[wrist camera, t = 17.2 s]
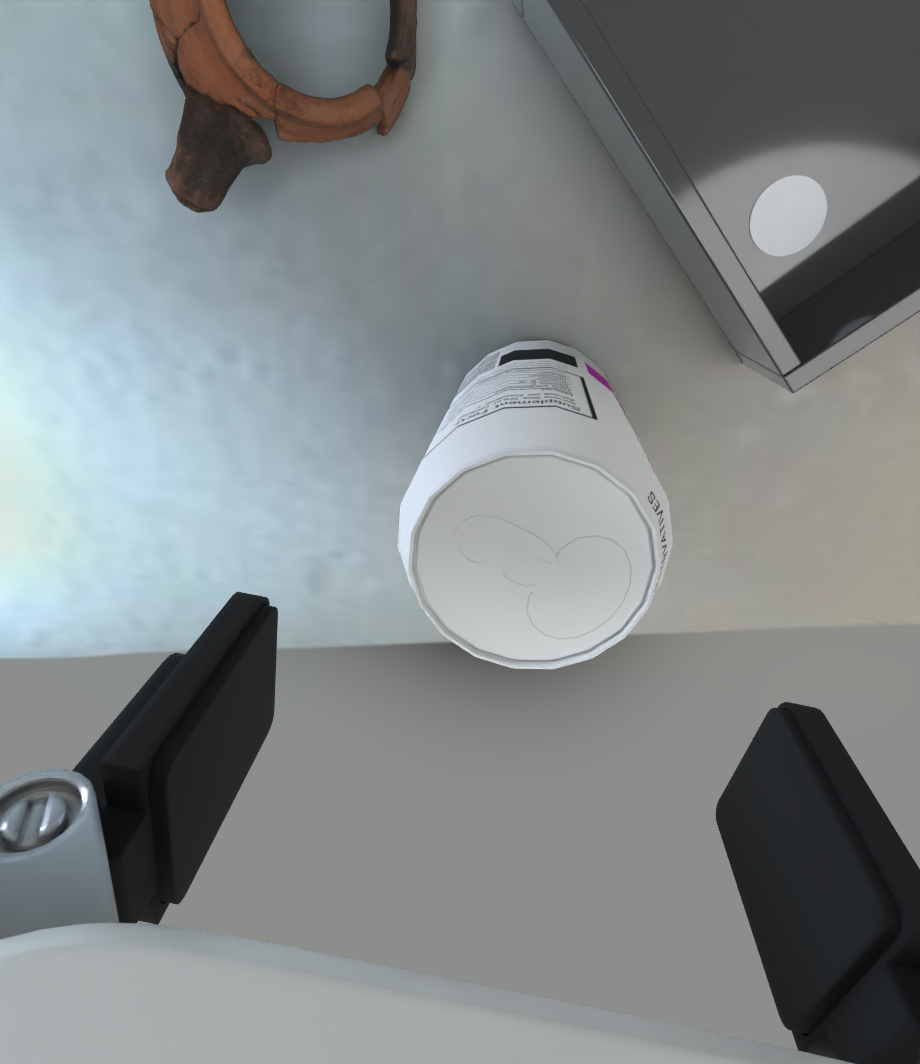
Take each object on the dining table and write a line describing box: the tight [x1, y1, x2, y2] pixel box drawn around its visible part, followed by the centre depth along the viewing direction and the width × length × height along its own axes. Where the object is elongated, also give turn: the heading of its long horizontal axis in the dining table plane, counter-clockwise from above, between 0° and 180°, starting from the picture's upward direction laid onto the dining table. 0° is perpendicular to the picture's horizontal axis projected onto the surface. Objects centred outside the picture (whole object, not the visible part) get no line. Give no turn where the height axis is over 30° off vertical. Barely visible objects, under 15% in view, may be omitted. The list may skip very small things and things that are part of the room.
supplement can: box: [398, 340, 673, 669], centre depth 23 cm, size 8×8×15 cm
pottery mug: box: [149, 0, 417, 213], centre depth 23 cm, size 12×10×8 cm
